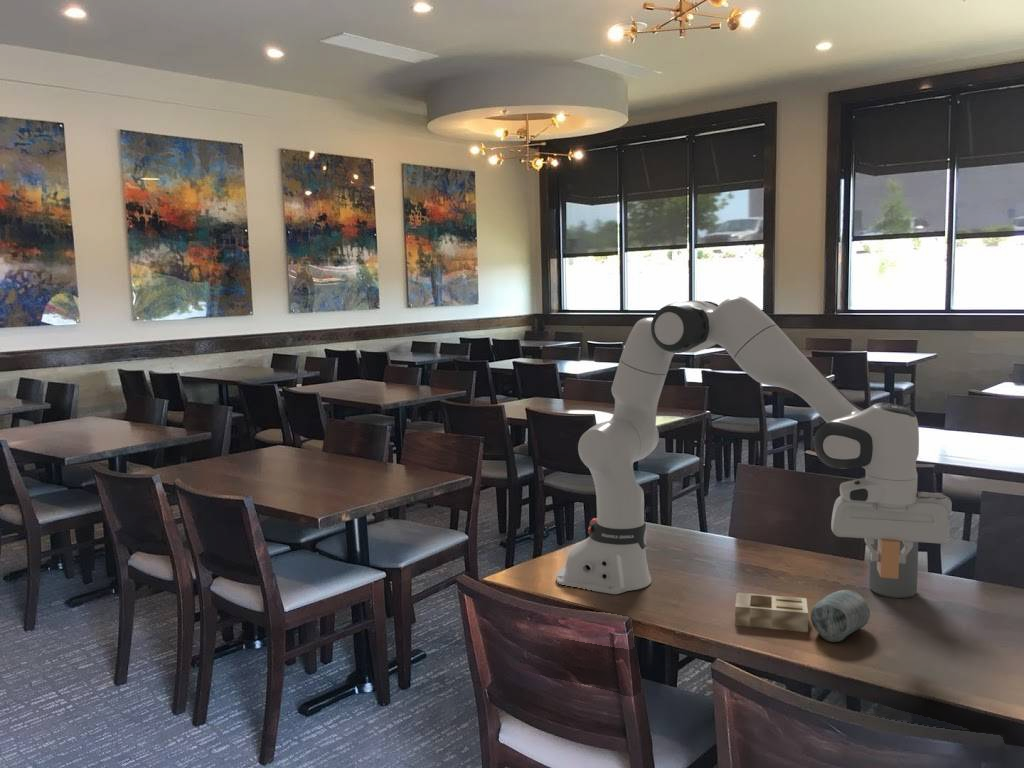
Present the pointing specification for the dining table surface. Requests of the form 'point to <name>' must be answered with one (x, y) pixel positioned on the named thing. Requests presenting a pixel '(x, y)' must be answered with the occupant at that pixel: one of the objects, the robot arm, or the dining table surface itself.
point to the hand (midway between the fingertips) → (887, 561)
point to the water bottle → (906, 577)
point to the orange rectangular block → (888, 558)
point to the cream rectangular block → (771, 612)
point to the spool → (839, 615)
